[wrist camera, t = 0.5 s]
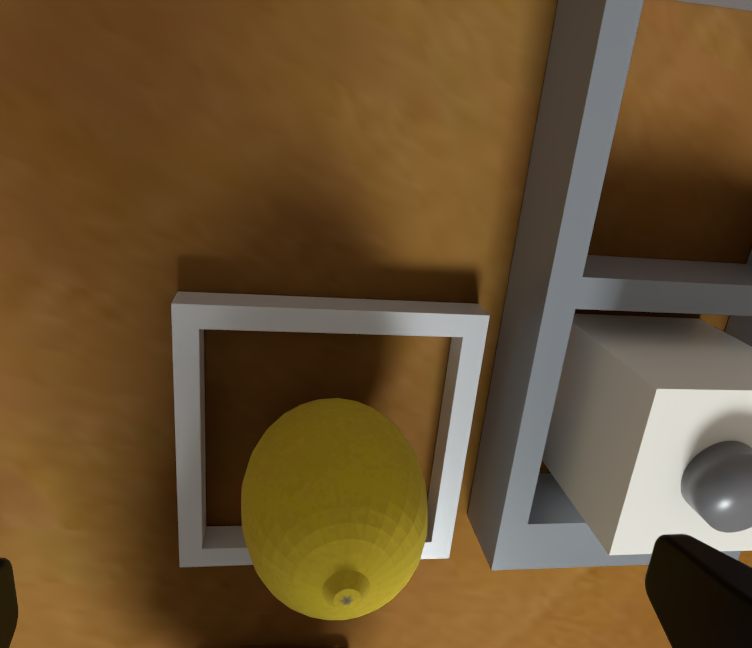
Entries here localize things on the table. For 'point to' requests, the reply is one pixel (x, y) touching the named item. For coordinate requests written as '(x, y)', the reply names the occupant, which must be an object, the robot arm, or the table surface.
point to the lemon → (334, 509)
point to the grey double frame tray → (573, 292)
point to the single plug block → (655, 431)
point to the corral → (317, 317)
